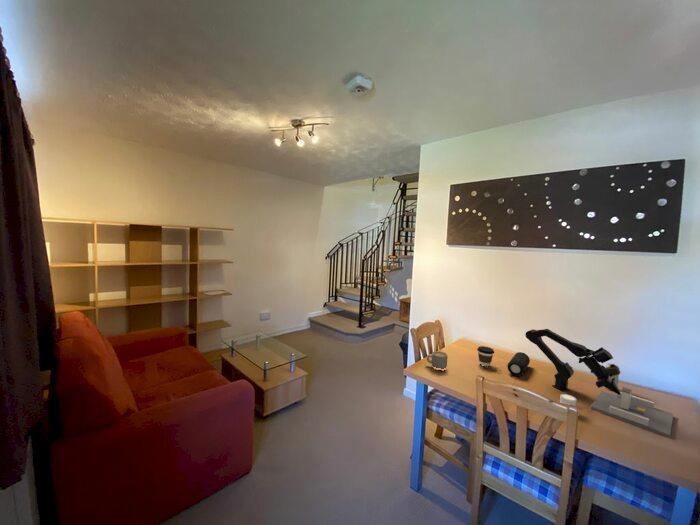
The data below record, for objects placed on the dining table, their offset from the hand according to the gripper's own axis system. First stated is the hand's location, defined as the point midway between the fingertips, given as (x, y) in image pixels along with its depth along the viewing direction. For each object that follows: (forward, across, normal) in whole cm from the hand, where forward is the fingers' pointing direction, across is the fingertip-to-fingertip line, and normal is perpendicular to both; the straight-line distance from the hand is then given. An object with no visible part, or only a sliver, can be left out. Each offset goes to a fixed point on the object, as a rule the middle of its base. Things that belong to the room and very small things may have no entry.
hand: (619, 394), depth 152 cm
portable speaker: (-31, +5, +42) cm, 52 cm away
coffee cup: (-44, -6, +54) cm, 70 cm away
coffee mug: (-56, -38, +67) cm, 95 cm away
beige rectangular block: (+6, 0, +3) cm, 6 cm away
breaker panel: (+9, 0, +2) cm, 9 cm away
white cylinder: (-6, -25, +17) cm, 31 cm away
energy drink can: (+1, +25, +11) cm, 27 cm away
